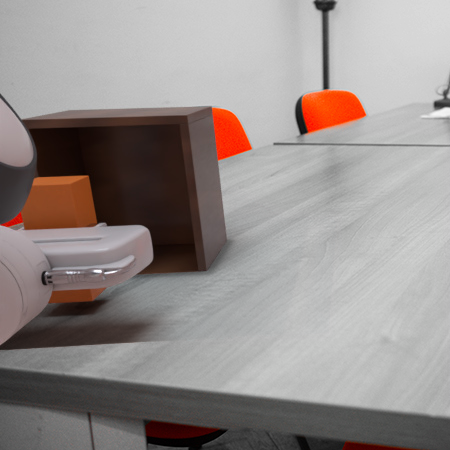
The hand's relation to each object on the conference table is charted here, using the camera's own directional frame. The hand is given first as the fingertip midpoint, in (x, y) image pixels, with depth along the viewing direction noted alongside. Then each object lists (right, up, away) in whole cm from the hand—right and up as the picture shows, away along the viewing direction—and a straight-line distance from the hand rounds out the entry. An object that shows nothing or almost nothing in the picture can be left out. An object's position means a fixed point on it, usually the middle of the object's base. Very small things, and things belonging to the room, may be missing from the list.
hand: (67, 231), depth 58 cm
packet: (0, -6, +1) cm, 7 cm away
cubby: (+1, -5, +16) cm, 17 cm away
